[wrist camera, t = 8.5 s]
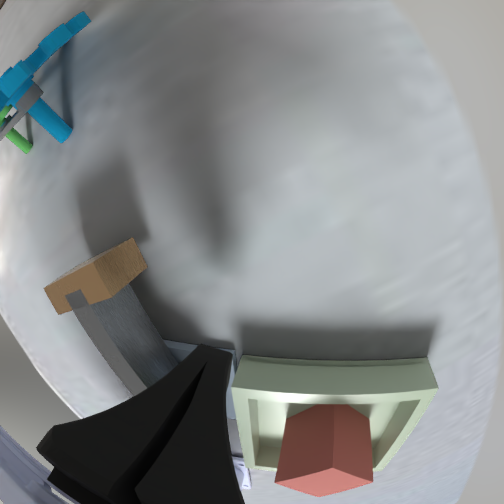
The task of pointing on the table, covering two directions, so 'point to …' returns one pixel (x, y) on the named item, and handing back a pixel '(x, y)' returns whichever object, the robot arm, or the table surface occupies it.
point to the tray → (328, 400)
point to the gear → (35, 88)
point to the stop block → (326, 450)
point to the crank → (115, 315)
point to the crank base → (184, 350)
